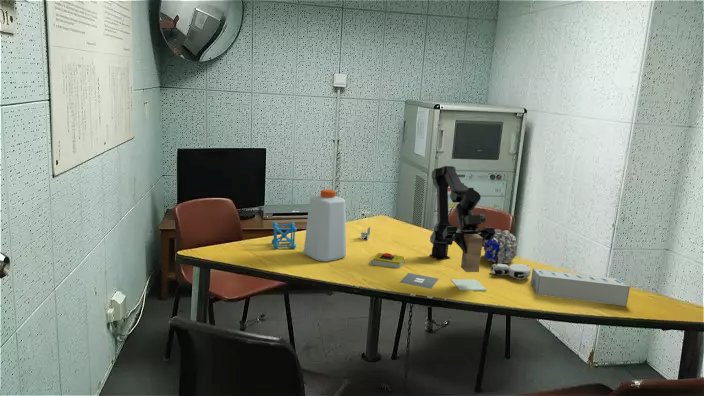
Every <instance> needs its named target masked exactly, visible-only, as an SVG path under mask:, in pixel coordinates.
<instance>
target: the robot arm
mask: <svg viewBox="0 0 704 396" xmlns="http://www.w3.org/2000/svg"><path fill="white" fill-rule="evenodd" d="M456 171H457V170H456V167H455V166H452V165H443V166H442V167H437V168H434V169H433V170H432V171H431V178H432V183H433V186H434V187H435V188H436V204H437V205H436V208H437V210H436V212H437V215H436V216H437V222H436V223H435V225H434V227H433V231H432V234H431V235H430V237H429V238H430V240H429V241H430V243H431V244H432V247H431V254H429V256H430V257H431V258H434V259H436V260H439V261H440V260H447V259H450V256H449V255H448V253H449V246H452V245H453V242H454V243H455V244H456V245H457V246H458V247H459V249H461V250H462V253H463V252H464V253H465V254H466V253H467V249H466V245H465V241H464V235H465V234H478V235H480V236H481V237H482V238H483V241H482V245H484V244H483V243H484V242H485V240H491V238H492V237H493V236H494V235H495V233H496V232H495V230H496V229H495V227H493V226H483V228H481V229H478V228H479V225H482V224H483V223H485V222H486V220H487V219H486V215H485V213H479V214H473V210H474V209H475V208H476V207H477V205H478V204H479V203H480V200H481V197H482V196H481V194H480V193H479V192H478V191H476V190H475V189H474V187H468V186H467V185H465V184H463V183H462V181H461V178H459V175H458V174H457V172H456ZM448 188H449V189H450V190H451V191H450V194H449V191H448V190H449V189H448ZM449 197H450V201H452V203H457V205H456V206H455V210H454V212H455V213H456V216H457V226H459V228H458V227H457V226H456V225H453V224H451V223H450V221H449ZM477 229H478V230H477Z"/></svg>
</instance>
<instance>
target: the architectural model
mask: <svg viewBox="0 0 704 396" xmlns="http://www.w3.org/2000/svg"><path fill="white" fill-rule="evenodd" d="M360 231H361V232H360V239H361V238H363V239H362V240H366V241H367V240H368V241H369V239H370V237H369V236H370V234H371V227H370V226H368V227H367V231H364V230H360ZM364 238H366V239H364Z"/></svg>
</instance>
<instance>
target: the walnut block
mask: <svg viewBox="0 0 704 396" xmlns="http://www.w3.org/2000/svg"><path fill="white" fill-rule="evenodd" d="M464 241H465V245H466V249H467V253H466V254H465V253H464V252H463V251H462V254H461V261H460V262H461V264H460V268H461V269H462V270H463V271H464V272H465V273H480V265H481V258H482V257H481V256H482V249H483V244H482V241H483V238H482V237H481V236H480V235H478V234H465V235H464ZM483 242H484V241H483Z"/></svg>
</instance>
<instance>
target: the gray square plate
mask: <svg viewBox="0 0 704 396" xmlns="http://www.w3.org/2000/svg"><path fill="white" fill-rule="evenodd" d="M438 281H439V278H437V277H431V276H428V275H427V276H426V275H422V274H418V273H417V274H416V273H413V272H412V273H411V272H407V274H405V276H404V277H403V278H402V279H401V280H400V281H399V283H401V284H405V285H410V286H415V287H419V288H420V287H421V288H426V289H432V288H433V287H434V286H435V285H436V283H437V282H438Z"/></svg>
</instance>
